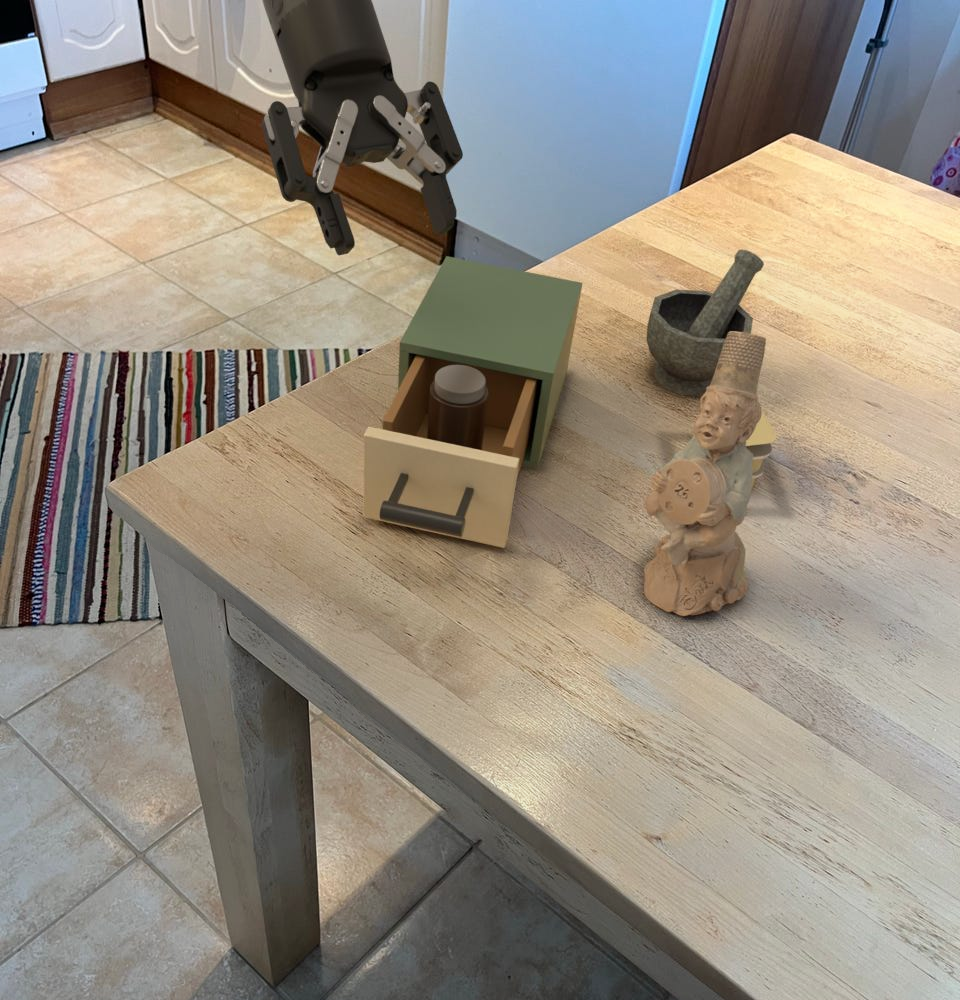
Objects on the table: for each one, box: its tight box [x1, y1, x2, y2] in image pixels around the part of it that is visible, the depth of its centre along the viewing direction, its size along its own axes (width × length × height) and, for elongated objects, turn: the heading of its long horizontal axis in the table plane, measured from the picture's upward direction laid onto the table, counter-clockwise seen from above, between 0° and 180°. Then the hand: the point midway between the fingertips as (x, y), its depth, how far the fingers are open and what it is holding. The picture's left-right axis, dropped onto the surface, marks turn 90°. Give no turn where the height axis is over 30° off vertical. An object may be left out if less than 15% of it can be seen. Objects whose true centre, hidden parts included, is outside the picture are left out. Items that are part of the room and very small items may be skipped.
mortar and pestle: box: [645, 249, 765, 397], centre depth 92 cm, size 11×9×12 cm
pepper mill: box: [427, 365, 488, 450], centre depth 76 cm, size 4×4×9 cm
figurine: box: [643, 331, 767, 617], centre depth 69 cm, size 9×8×20 cm
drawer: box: [362, 354, 540, 549], centre depth 77 cm, size 19×11×8 cm, turn 167°
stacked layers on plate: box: [745, 409, 777, 490], centre depth 84 cm, size 10×9×6 cm
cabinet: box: [397, 256, 583, 470], centre depth 86 cm, size 16×13×10 cm
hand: (397, 240), depth 73 cm, fingers open, 8 cm apart
